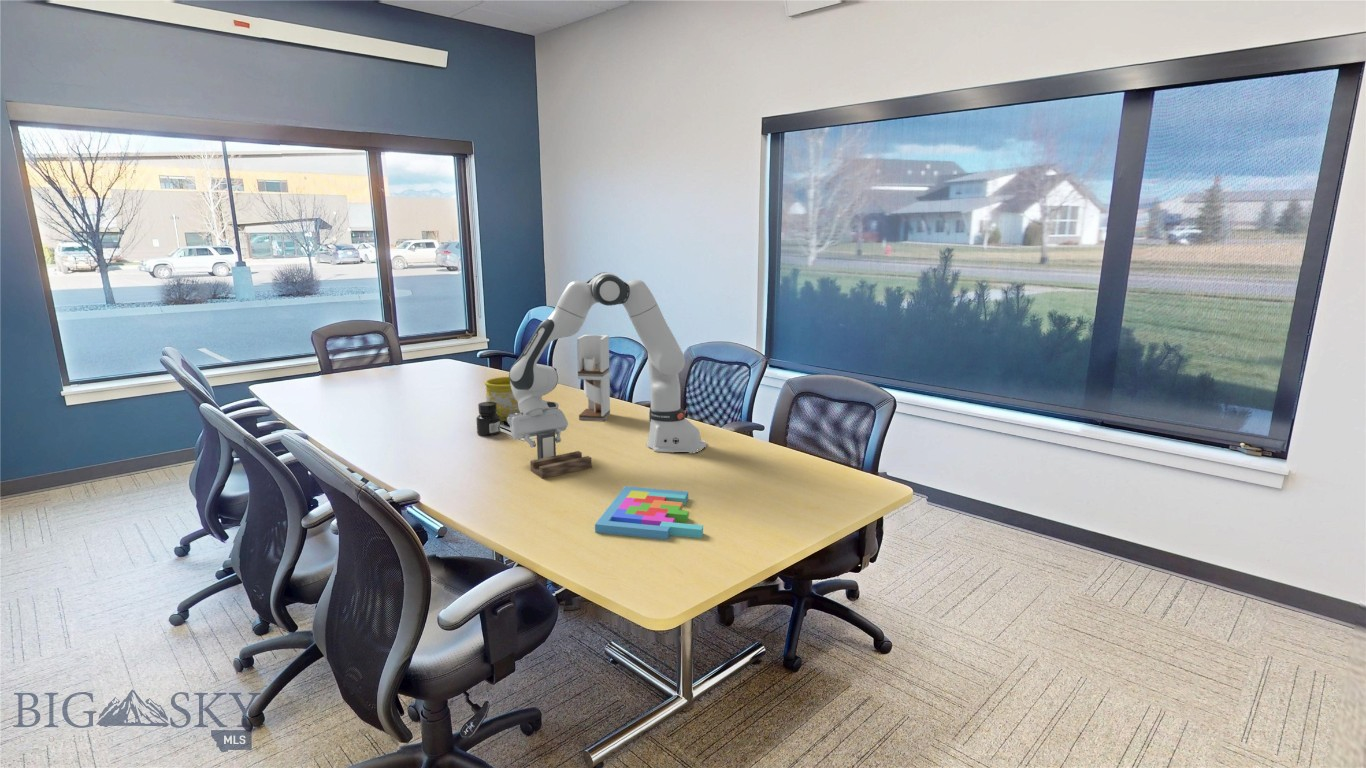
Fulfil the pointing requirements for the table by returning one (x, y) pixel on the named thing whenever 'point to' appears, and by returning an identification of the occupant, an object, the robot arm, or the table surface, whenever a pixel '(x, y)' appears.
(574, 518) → the table surface
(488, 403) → the ink bottle
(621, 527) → the tetris game
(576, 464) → the display ledge
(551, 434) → the dark grey rectangular block
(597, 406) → the rack with curved panels
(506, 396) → the flowerpot
